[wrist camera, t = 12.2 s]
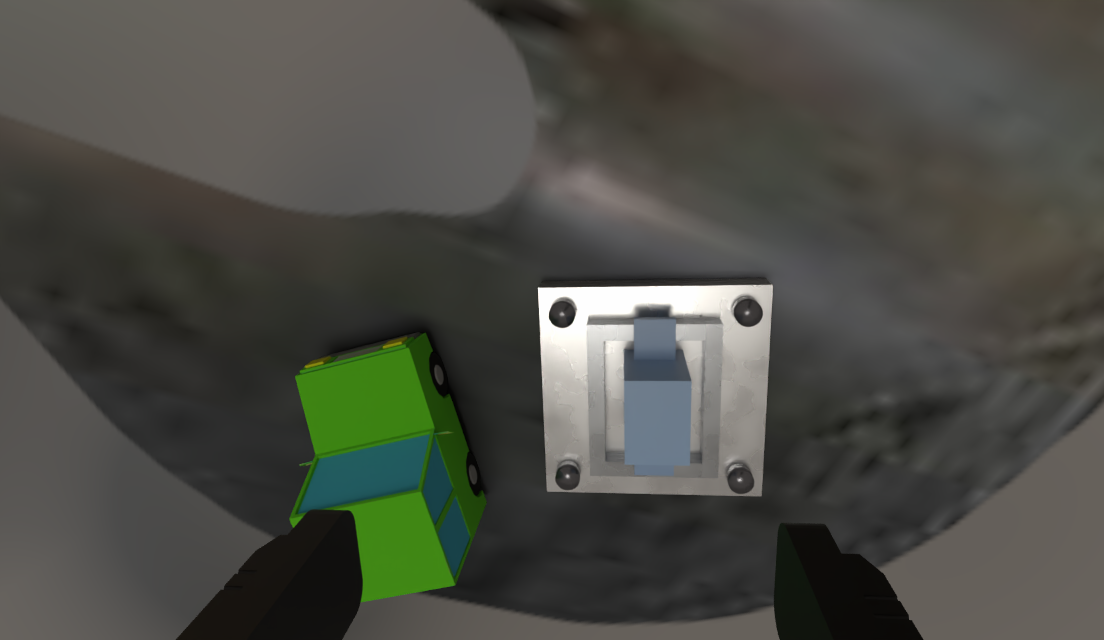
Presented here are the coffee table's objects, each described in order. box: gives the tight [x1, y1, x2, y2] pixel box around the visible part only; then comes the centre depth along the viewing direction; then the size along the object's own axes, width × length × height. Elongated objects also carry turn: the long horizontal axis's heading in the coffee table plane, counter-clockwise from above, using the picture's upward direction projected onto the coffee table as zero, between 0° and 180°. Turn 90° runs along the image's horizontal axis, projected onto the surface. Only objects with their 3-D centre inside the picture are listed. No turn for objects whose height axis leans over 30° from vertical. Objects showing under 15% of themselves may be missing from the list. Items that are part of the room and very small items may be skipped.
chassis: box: [538, 278, 773, 496], centre depth 41 cm, size 14×14×3 cm
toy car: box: [290, 332, 487, 602], centre depth 41 cm, size 10×13×10 cm
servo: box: [624, 317, 692, 476], centre depth 38 cm, size 10×4×6 cm, turn 2°
